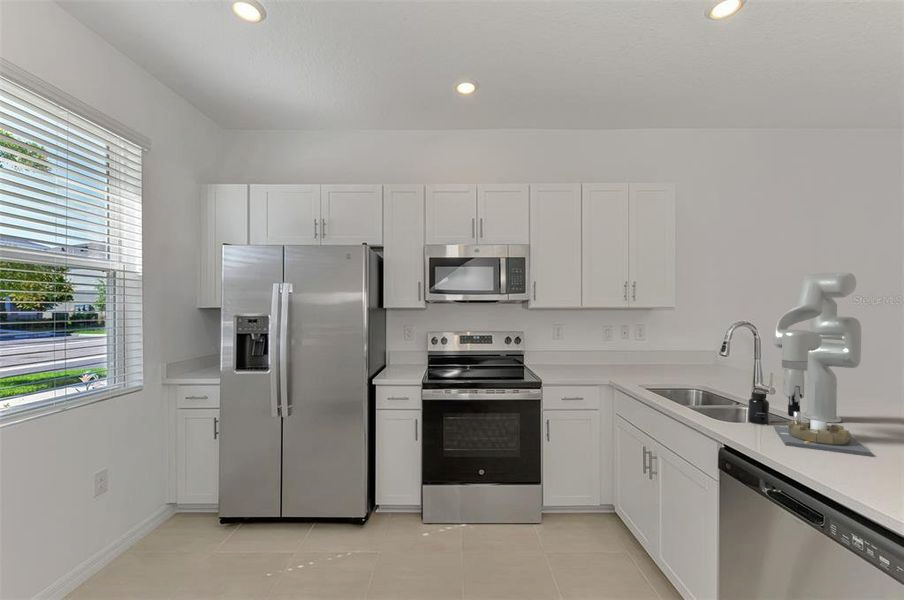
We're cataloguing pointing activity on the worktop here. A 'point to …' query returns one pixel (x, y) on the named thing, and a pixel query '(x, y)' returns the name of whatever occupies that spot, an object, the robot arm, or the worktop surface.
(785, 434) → the nut base
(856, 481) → the worktop surface
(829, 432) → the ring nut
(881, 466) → the worktop surface
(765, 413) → the supplement bottle
